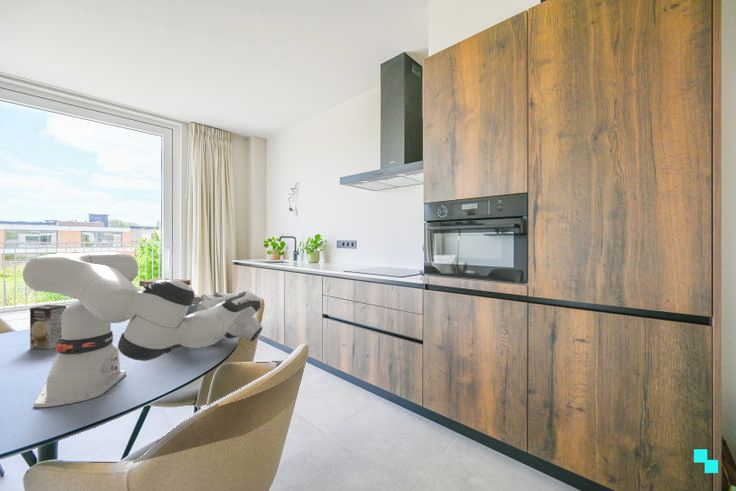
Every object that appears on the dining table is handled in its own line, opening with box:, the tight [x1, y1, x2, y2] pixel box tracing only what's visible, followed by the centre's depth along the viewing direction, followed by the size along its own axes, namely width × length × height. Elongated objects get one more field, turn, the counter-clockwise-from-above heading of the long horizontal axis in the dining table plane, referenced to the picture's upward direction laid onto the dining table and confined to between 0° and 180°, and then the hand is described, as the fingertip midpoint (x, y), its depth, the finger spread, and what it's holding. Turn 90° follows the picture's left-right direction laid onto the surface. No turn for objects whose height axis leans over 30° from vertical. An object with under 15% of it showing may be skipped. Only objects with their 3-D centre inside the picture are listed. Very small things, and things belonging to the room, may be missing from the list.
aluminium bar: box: [192, 294, 224, 304], centre depth 137 cm, size 24×4×3 cm, turn 70°
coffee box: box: [29, 304, 67, 350], centre depth 123 cm, size 9×6×16 cm
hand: (208, 294), depth 135 cm, fingers open, 5 cm apart
